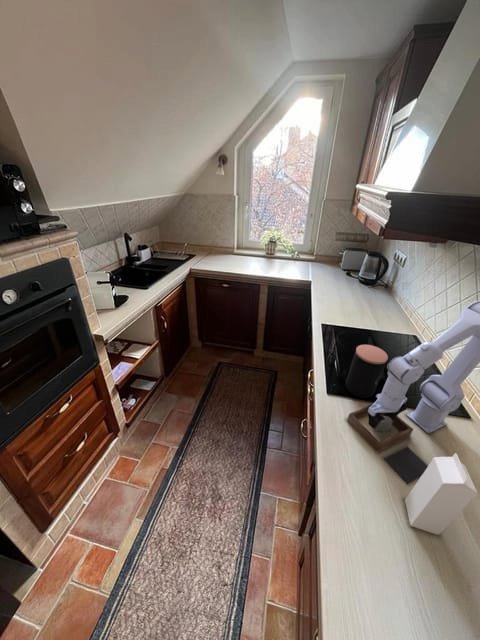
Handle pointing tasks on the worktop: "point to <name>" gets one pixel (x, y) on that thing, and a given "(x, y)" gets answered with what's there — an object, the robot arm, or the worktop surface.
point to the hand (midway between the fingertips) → (380, 422)
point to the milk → (440, 494)
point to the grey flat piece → (384, 424)
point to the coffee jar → (366, 370)
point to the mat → (406, 464)
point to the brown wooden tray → (374, 443)
